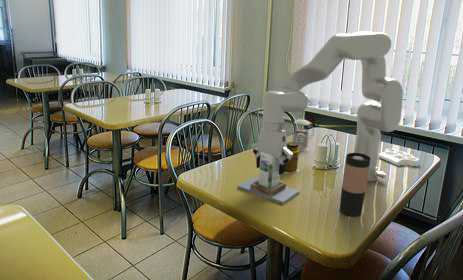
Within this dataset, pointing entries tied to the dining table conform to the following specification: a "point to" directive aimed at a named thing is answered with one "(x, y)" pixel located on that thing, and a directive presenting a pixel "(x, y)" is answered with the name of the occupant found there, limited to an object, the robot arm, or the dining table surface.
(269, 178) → the syrup box
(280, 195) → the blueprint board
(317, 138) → the dining table surface
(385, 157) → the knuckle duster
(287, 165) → the condiment
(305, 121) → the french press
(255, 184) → the socket frame
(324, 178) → the dining table surface
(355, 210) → the travel mug
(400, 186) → the dining table surface
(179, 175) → the dining table surface
